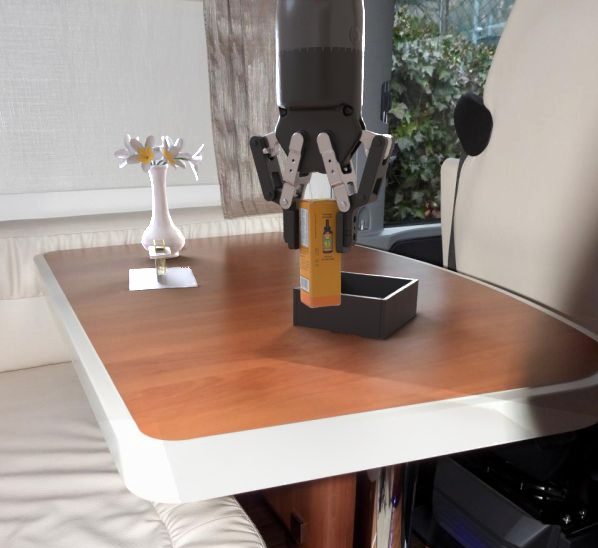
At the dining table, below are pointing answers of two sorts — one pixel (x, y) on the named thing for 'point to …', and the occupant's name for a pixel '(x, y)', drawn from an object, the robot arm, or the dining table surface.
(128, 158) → the flower vase
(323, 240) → the supplement box
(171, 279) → the platform
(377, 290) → the basket
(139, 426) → the dining table surface
